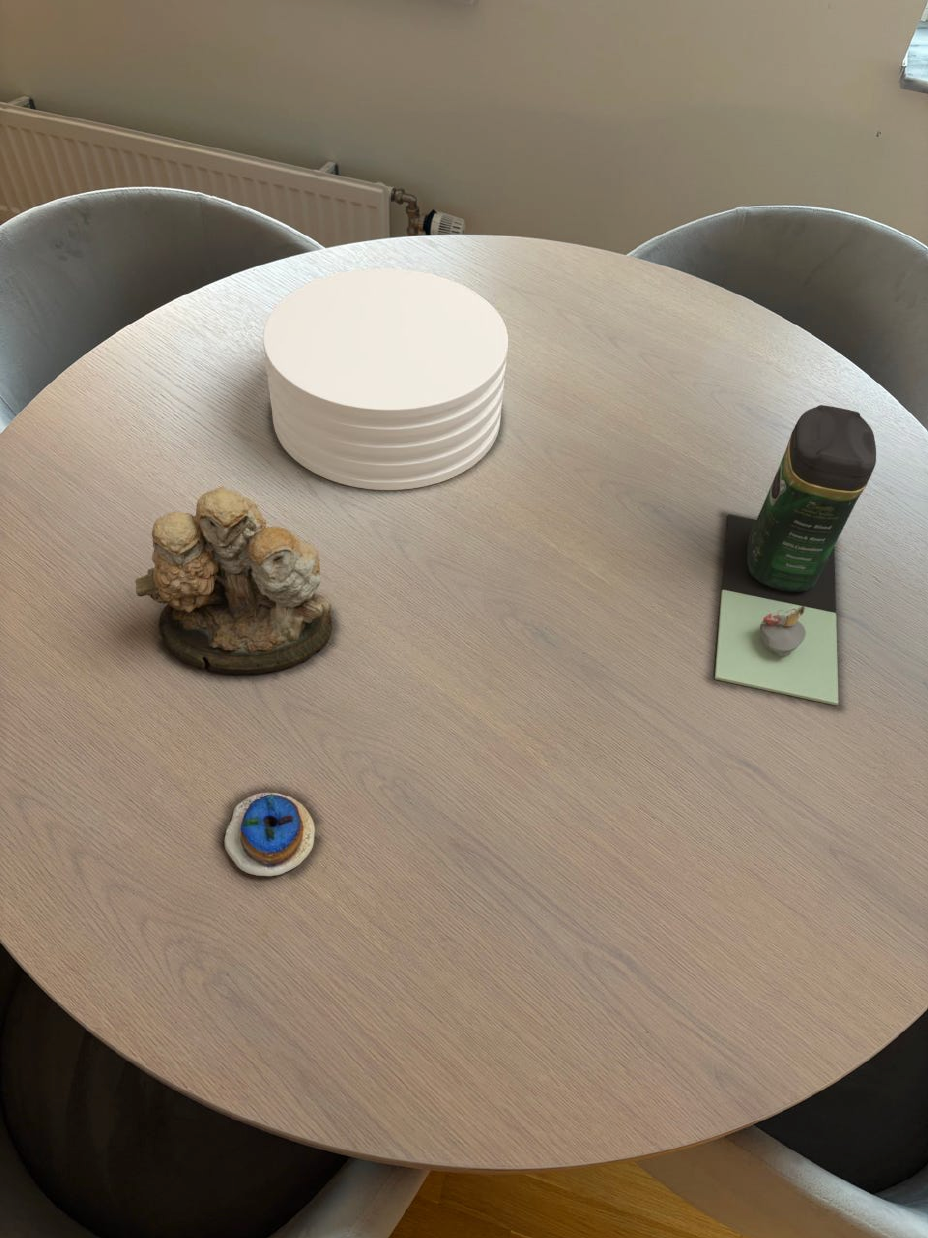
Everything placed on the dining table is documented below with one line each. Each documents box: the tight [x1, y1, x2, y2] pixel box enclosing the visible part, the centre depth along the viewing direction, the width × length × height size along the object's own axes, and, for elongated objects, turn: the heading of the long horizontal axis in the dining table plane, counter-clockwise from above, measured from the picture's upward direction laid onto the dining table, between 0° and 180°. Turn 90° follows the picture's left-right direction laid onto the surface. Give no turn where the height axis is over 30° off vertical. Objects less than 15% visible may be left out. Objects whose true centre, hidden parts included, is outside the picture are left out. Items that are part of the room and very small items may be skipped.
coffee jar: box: [747, 404, 877, 592], centre depth 97 cm, size 10×8×19 cm
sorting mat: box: [714, 513, 839, 706], centre depth 101 cm, size 24×12×1 cm, turn 167°
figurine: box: [760, 606, 806, 656], centre depth 95 cm, size 5×4×6 cm
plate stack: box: [262, 267, 509, 491], centre depth 113 cm, size 28×28×12 cm
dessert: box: [224, 792, 316, 877], centre depth 80 cm, size 8×7×6 cm
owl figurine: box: [134, 486, 333, 675], centre depth 88 cm, size 18×12×17 cm, turn 94°
